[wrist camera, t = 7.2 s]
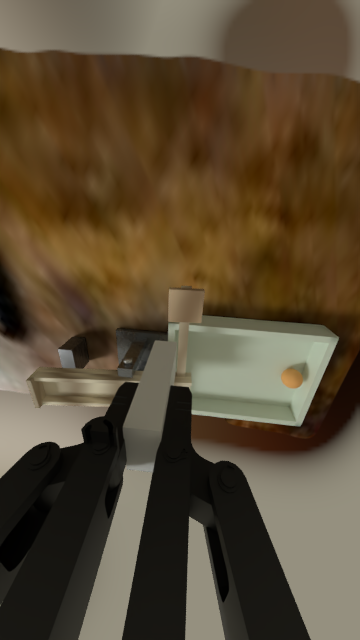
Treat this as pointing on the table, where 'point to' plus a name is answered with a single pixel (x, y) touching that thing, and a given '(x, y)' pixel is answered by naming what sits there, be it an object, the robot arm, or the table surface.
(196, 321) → the lever
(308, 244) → the table surface
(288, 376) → the ball
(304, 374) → the tray
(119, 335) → the stand
